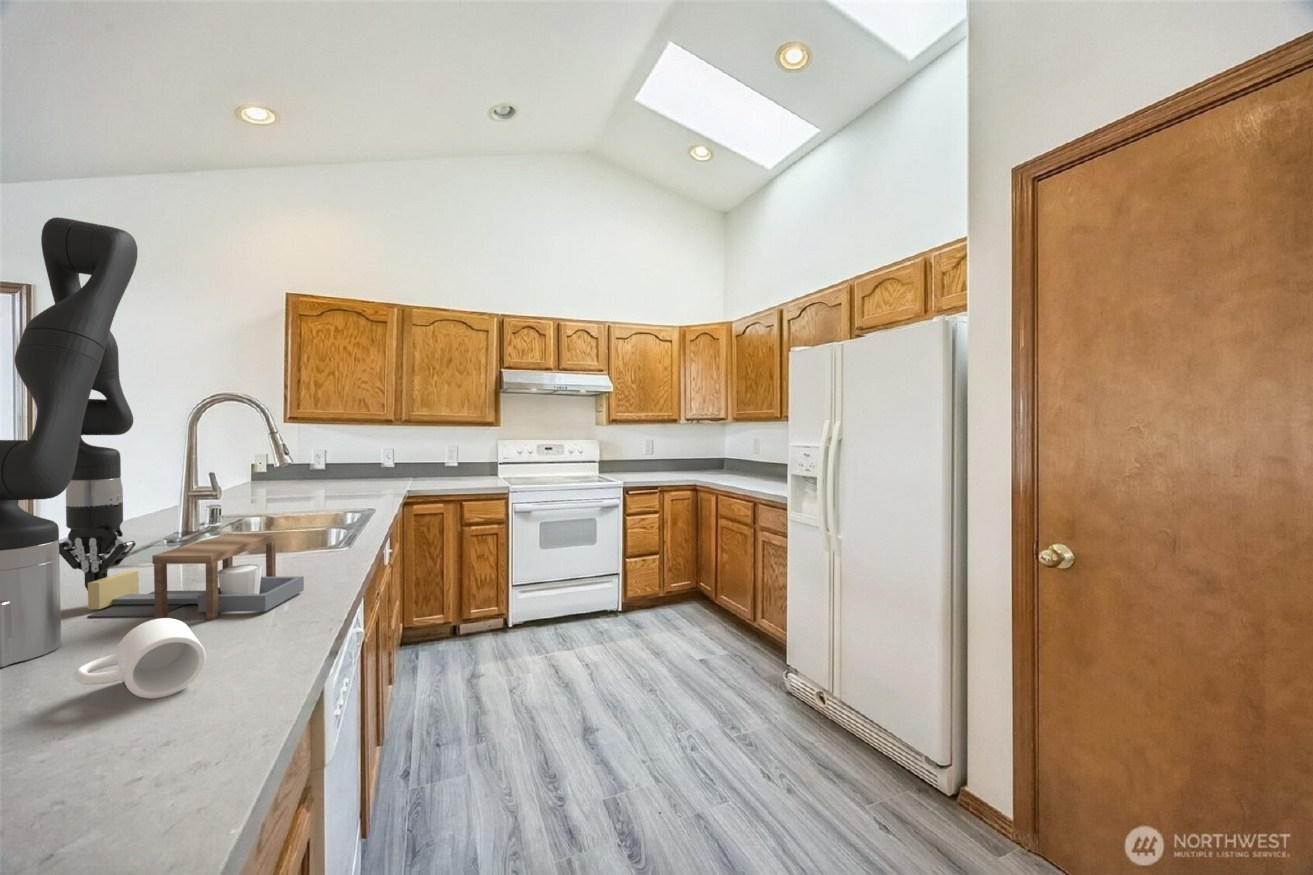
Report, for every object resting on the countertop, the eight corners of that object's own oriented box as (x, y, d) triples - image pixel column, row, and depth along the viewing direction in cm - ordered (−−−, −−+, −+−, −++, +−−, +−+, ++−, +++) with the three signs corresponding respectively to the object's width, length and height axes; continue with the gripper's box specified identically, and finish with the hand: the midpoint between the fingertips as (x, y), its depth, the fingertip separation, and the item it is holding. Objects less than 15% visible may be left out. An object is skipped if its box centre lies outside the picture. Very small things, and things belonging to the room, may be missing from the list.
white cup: (270, 598, 106) (270, 564, 106) (240, 610, 99) (239, 574, 99) (241, 596, 107) (240, 562, 107) (208, 608, 100) (208, 572, 100)
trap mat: (157, 617, 96) (157, 615, 96) (87, 617, 95) (87, 616, 95) (215, 591, 110) (215, 590, 110) (155, 592, 109) (155, 590, 109)
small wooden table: (211, 620, 94) (211, 555, 94) (153, 621, 94) (152, 555, 93) (276, 588, 112) (276, 533, 112) (228, 588, 112) (227, 533, 111)
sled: (265, 611, 98) (265, 585, 98) (77, 613, 95) (76, 586, 95) (303, 590, 110) (303, 567, 110) (137, 591, 107) (136, 567, 107)
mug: (192, 663, 79) (191, 611, 78) (206, 685, 72) (205, 629, 72) (73, 694, 69) (72, 635, 69) (77, 723, 63) (76, 658, 63)
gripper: (36, 504, 96) (37, 596, 97) (113, 505, 97) (115, 596, 98) (77, 498, 104) (78, 583, 104) (149, 499, 105) (150, 583, 105)
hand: (96, 589), depth 101 cm, fingers closed
